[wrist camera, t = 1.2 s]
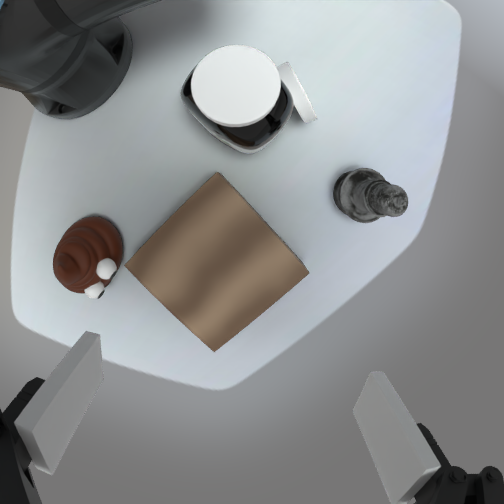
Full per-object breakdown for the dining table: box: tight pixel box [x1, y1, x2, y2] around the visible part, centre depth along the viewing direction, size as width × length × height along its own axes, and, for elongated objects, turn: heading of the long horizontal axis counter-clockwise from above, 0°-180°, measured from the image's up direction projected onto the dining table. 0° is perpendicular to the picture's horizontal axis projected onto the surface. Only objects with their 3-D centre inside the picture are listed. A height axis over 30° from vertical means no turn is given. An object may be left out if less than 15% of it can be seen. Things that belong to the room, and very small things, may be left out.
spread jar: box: [181, 45, 317, 154], centre depth 26 cm, size 12×11×12 cm
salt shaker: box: [334, 168, 408, 223], centre depth 29 cm, size 6×6×12 cm
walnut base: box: [124, 172, 309, 352], centre depth 34 cm, size 14×14×4 cm
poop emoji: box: [53, 216, 123, 299], centre depth 31 cm, size 10×8×9 cm
